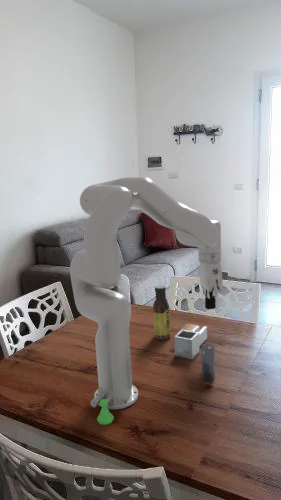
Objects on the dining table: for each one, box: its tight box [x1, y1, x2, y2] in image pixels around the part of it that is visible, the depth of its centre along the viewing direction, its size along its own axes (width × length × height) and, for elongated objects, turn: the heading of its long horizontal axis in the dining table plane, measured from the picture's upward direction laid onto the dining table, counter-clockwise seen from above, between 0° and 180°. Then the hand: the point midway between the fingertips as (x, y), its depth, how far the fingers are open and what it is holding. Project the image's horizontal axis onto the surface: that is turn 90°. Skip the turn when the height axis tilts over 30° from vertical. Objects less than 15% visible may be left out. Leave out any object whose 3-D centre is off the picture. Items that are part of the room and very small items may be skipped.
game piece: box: [96, 399, 115, 426], centre depth 105 cm, size 4×4×6 cm
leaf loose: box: [198, 325, 208, 348], centre depth 147 cm, size 8×1×4 cm, turn 151°
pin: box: [200, 343, 216, 382], centre depth 123 cm, size 4×4×10 cm
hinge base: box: [174, 323, 201, 360], centre depth 145 cm, size 18×9×7 cm, turn 151°
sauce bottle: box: [152, 285, 171, 340], centre depth 152 cm, size 6×6×20 cm
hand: (210, 308), depth 140 cm, fingers closed
